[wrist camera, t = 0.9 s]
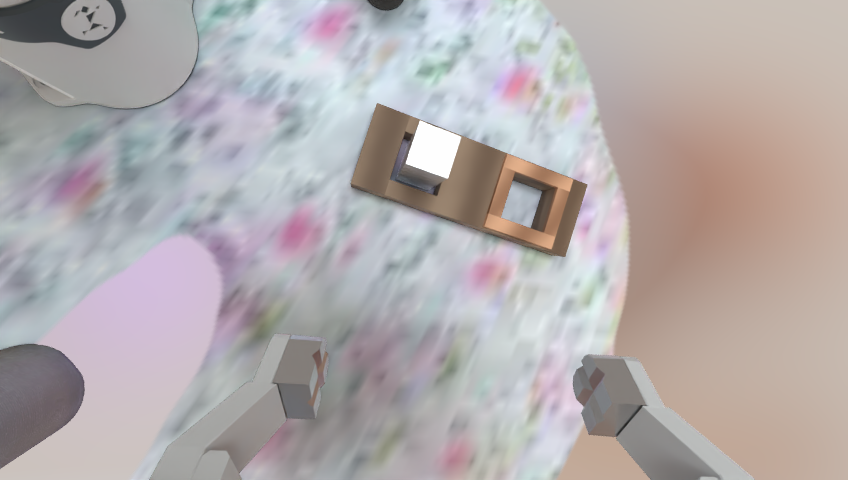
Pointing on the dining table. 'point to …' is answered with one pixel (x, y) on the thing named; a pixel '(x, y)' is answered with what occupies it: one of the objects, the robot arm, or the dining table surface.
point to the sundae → (386, 4)
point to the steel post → (428, 156)
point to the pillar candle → (35, 396)
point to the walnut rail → (472, 186)
